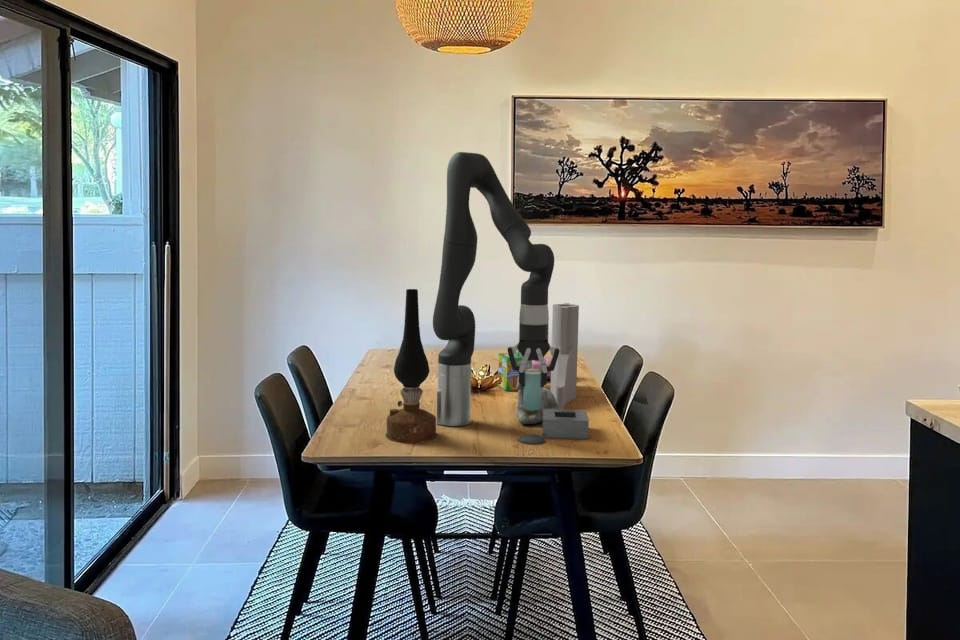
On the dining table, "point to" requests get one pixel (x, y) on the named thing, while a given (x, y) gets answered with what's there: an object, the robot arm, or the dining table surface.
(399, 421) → the oil lamp
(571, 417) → the housing
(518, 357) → the chalk box
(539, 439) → the coaster
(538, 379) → the teal canister
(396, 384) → the dining table surface
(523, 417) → the sculpture
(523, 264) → the robot arm
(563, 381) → the grey piece
